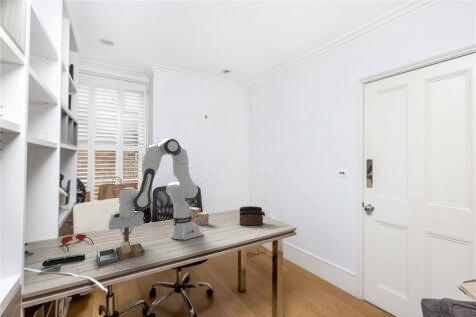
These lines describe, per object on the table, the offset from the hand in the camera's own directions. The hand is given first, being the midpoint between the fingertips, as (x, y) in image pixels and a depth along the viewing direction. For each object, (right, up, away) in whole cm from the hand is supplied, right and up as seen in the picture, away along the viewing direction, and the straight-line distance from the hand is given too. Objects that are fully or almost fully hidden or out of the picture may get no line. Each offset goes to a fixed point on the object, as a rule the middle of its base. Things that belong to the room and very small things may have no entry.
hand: (126, 234), depth 144 cm
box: (0, -6, -21) cm, 22 cm away
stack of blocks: (+36, -8, +52) cm, 64 cm away
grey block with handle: (0, -7, 0) cm, 7 cm away
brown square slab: (+9, -7, -14) cm, 18 cm away
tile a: (+6, -4, -13) cm, 15 cm away
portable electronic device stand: (-20, -7, -25) cm, 33 cm away
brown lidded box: (+83, -8, +50) cm, 97 cm away
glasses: (-32, -7, 0) cm, 32 cm away
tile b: (+9, -3, -18) cm, 21 cm away
